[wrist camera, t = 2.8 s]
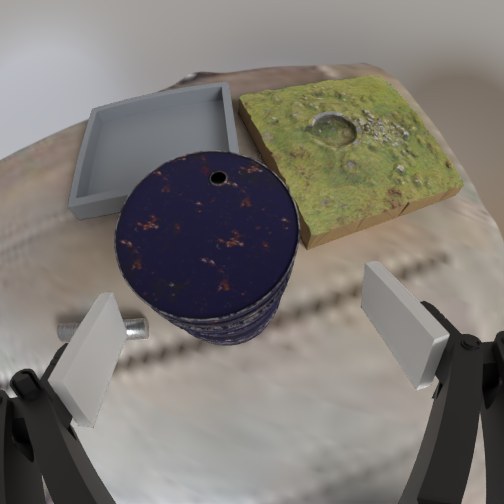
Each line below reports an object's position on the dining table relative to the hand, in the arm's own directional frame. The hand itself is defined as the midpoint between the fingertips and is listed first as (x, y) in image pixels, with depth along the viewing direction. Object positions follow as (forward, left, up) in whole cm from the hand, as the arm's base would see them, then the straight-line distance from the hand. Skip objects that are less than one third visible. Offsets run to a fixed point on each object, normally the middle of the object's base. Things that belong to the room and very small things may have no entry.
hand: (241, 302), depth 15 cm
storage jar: (-1, +4, -14) cm, 14 cm away
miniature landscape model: (+16, +20, -14) cm, 30 cm away
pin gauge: (-14, +1, -14) cm, 20 cm away
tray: (-8, +23, -13) cm, 28 cm away
